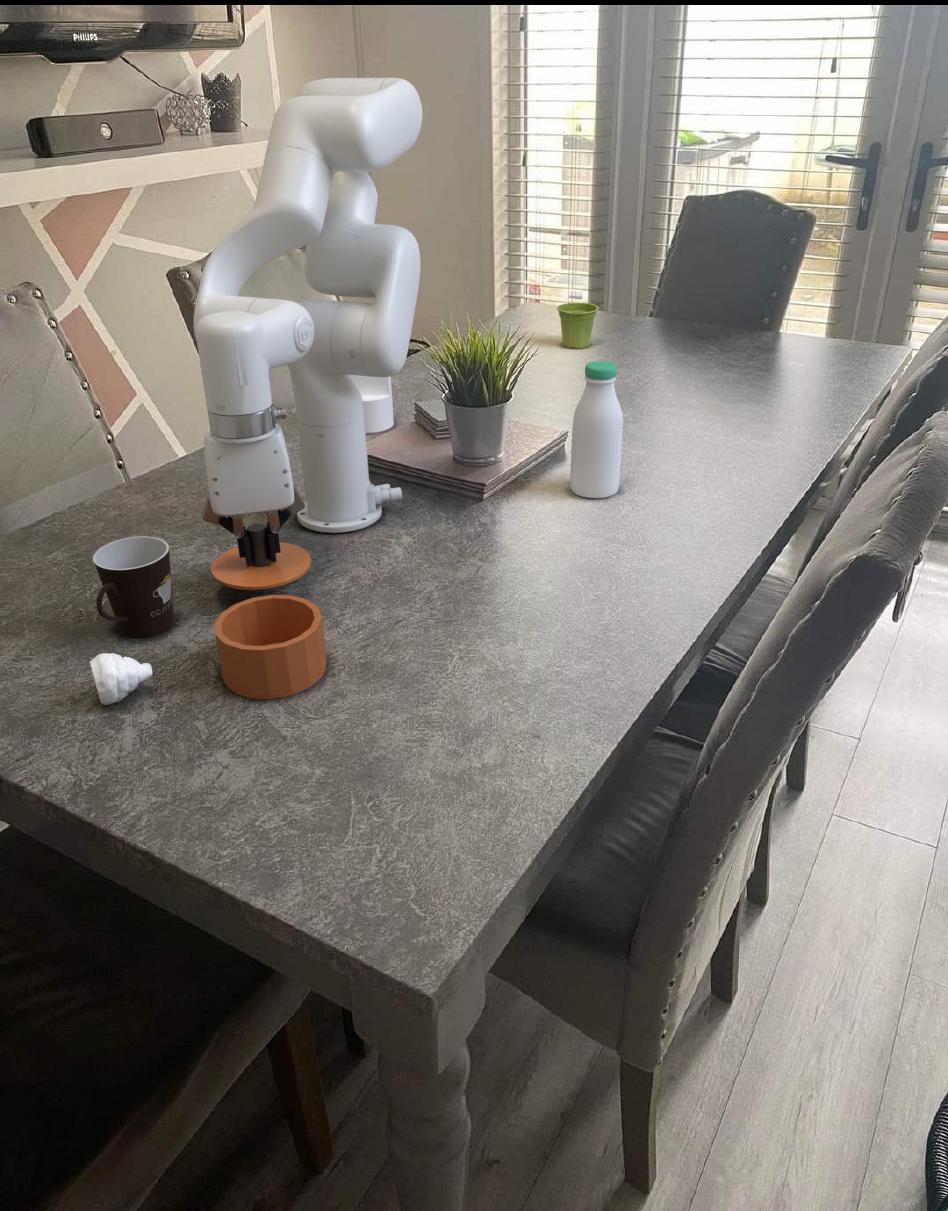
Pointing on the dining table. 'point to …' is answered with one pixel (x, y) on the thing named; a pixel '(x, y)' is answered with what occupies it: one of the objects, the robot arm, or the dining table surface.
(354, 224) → the robot arm
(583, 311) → the plant pot
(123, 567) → the coffee mug
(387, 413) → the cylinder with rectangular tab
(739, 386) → the dining table surface
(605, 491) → the milk bottle
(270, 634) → the pot
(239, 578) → the pot lid
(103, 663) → the white whipped cream swirl
